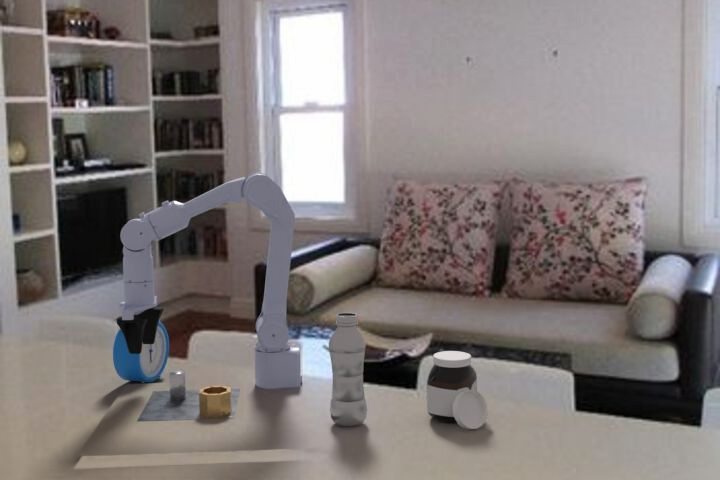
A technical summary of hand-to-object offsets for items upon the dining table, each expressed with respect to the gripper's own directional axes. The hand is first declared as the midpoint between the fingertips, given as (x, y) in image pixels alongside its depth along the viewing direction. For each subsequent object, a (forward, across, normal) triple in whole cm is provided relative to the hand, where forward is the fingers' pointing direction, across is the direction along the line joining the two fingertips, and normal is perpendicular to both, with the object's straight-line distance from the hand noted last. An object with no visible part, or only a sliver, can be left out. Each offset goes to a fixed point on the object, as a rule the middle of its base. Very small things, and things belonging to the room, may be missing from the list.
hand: (142, 348), depth 171 cm
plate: (+10, +8, +12) cm, 18 cm away
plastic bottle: (+10, +13, +42) cm, 45 cm away
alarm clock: (+10, -12, -5) cm, 16 cm away
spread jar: (+11, +9, +62) cm, 64 cm away
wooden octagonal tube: (+9, +12, +18) cm, 23 cm away
